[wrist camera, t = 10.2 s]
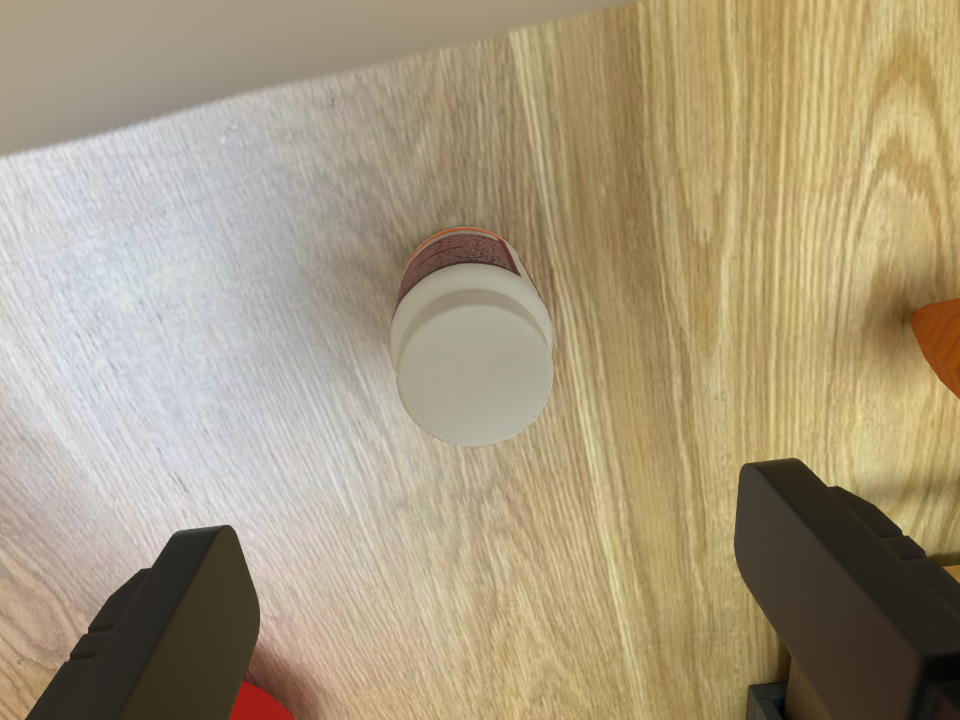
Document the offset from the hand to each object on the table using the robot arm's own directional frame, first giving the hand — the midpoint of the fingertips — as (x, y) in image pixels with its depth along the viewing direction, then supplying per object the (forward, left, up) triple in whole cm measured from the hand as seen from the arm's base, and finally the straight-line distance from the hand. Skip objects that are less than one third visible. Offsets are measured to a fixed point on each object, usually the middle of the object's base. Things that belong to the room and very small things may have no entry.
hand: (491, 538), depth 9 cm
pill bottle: (0, 0, -15) cm, 15 cm away
